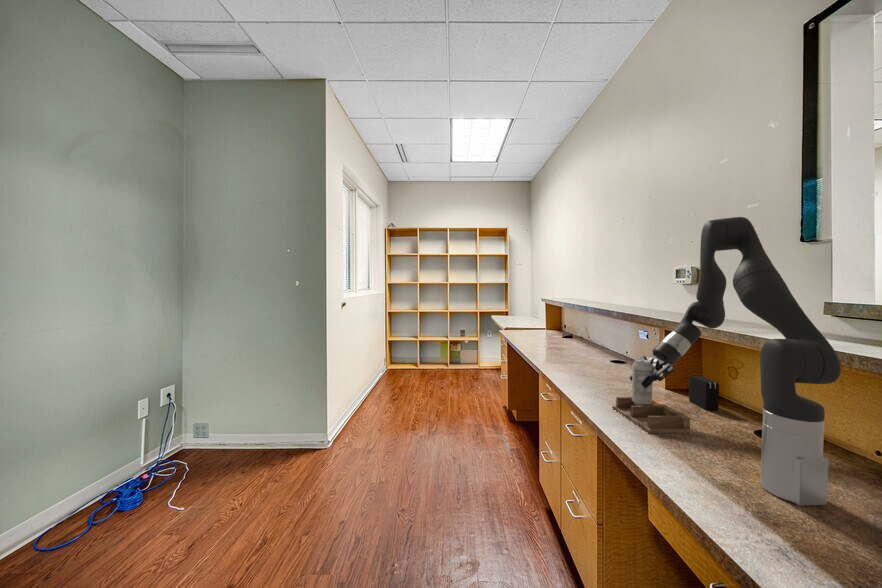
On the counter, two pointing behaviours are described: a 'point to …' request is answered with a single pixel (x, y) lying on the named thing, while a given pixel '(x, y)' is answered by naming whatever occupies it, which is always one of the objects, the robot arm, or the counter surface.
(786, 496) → the robot arm
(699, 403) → the electronic device
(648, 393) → the energy drink can
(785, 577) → the counter surface
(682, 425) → the divided wooden tray
